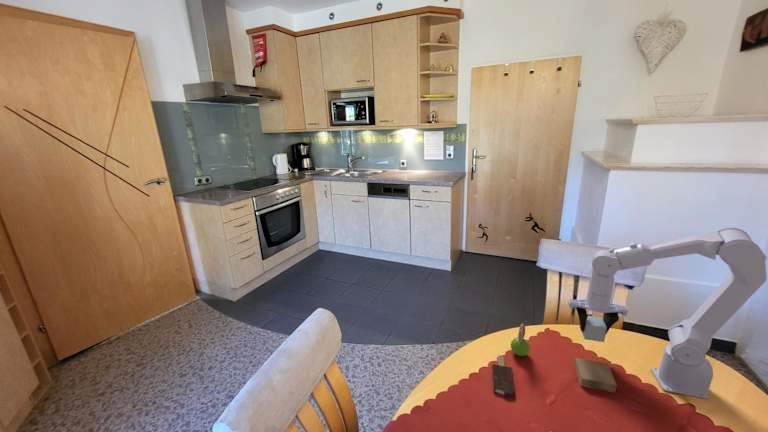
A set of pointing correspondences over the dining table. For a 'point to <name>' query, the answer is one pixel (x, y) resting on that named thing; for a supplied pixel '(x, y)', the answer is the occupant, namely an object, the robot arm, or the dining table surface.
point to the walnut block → (595, 375)
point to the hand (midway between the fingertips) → (592, 331)
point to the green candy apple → (520, 343)
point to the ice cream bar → (503, 379)
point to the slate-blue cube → (594, 329)
